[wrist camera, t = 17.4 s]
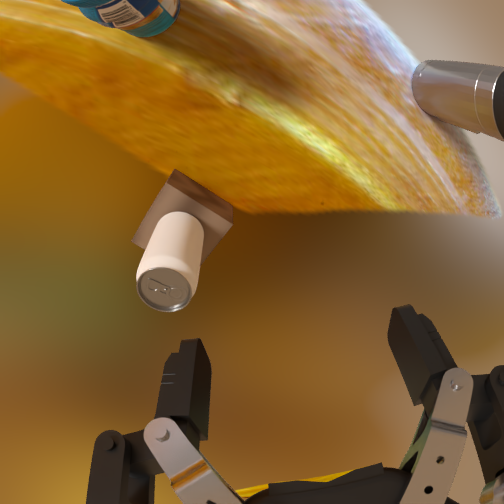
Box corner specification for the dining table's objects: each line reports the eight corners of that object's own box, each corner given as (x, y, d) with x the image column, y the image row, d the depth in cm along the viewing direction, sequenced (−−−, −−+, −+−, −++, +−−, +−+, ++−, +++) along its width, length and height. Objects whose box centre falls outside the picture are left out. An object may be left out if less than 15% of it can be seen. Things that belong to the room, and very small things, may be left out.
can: (195, 259, 41) (185, 322, 31) (150, 244, 39) (127, 303, 29) (211, 220, 38) (205, 277, 28) (163, 203, 36) (139, 254, 26)
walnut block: (232, 205, 44) (233, 224, 39) (196, 253, 48) (192, 276, 43) (174, 168, 40) (166, 182, 35) (141, 221, 44) (131, 241, 39)
